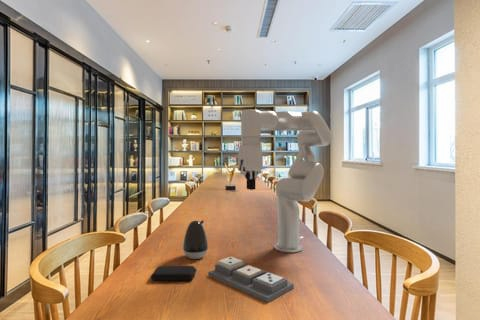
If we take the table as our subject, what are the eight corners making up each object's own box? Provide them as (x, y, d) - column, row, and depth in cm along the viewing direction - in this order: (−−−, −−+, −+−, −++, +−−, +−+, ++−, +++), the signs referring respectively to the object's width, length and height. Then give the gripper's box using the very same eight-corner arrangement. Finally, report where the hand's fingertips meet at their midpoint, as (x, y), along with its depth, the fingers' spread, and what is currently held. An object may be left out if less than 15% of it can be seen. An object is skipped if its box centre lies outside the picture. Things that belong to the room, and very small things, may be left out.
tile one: (248, 270, 107) (248, 264, 106) (261, 275, 102) (261, 269, 102) (236, 275, 102) (236, 269, 102) (249, 281, 98) (249, 274, 98)
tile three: (268, 278, 100) (268, 271, 100) (283, 284, 96) (283, 277, 96) (256, 284, 96) (256, 277, 96) (271, 290, 92) (271, 283, 92)
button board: (234, 265, 116) (234, 256, 116) (293, 288, 98) (293, 277, 97) (208, 275, 107) (208, 266, 107) (267, 302, 88) (267, 290, 88)
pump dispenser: (213, 255, 128) (212, 219, 128) (197, 263, 119) (197, 224, 119) (194, 251, 133) (193, 216, 133) (177, 258, 124) (177, 221, 124)
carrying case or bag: (197, 271, 112) (157, 271, 112) (197, 262, 112) (157, 263, 112) (193, 283, 102) (149, 284, 102) (193, 274, 102) (149, 275, 102)
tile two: (230, 261, 113) (230, 255, 113) (242, 266, 109) (242, 259, 109) (218, 266, 109) (218, 260, 108) (230, 270, 104) (230, 264, 104)
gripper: (256, 142, 126) (256, 186, 126) (230, 141, 115) (230, 190, 116) (270, 142, 120) (270, 188, 121) (244, 141, 110) (244, 192, 110)
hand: (251, 189), depth 118 cm, fingers closed
